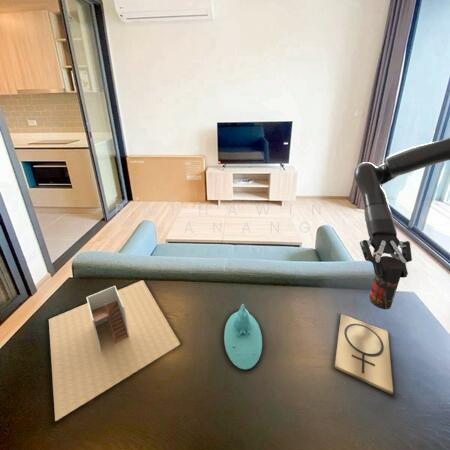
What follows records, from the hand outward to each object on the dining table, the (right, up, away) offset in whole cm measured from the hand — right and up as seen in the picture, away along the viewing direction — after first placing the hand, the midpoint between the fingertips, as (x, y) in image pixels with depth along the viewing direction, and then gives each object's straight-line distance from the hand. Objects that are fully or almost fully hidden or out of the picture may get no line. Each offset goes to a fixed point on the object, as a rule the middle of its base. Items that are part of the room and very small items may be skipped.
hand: (391, 276), depth 71 cm
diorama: (-43, -22, +8) cm, 49 cm away
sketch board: (-6, -24, +4) cm, 25 cm away
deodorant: (0, -10, +6) cm, 12 cm away
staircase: (-86, -22, +10) cm, 89 cm away
